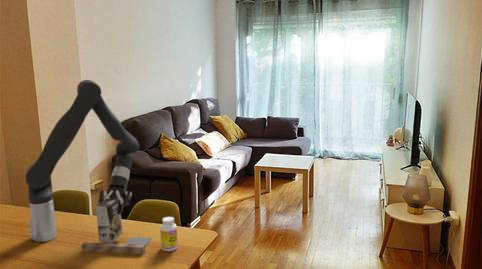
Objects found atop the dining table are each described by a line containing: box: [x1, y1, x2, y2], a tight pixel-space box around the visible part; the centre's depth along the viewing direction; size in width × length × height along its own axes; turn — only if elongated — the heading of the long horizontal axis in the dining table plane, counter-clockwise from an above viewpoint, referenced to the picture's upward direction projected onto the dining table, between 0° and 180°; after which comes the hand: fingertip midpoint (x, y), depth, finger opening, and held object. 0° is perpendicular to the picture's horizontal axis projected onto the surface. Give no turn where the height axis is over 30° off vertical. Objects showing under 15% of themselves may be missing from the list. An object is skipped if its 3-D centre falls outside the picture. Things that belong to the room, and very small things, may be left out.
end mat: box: [125, 237, 152, 248], centre depth 168 cm, size 9×10×1 cm
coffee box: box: [95, 199, 124, 243], centre depth 167 cm, size 9×6×16 cm
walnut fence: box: [81, 241, 146, 255], centre depth 161 cm, size 26×2×3 cm, turn 84°
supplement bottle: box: [159, 216, 178, 252], centre depth 163 cm, size 7×7×13 cm
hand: (110, 213), depth 168 cm, fingers closed on coffee box, 6 cm apart
